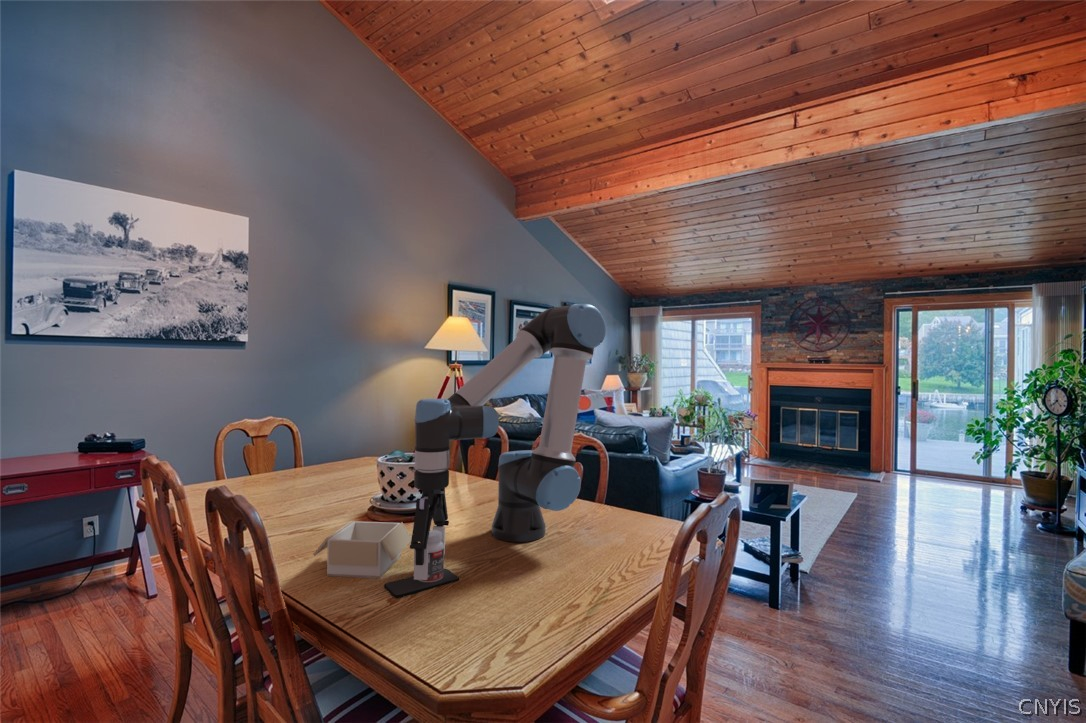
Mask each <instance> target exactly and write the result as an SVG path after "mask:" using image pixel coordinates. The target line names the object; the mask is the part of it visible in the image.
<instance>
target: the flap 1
mask: <svg viewBox="0 0 1086 723" xmlns="http://www.w3.org/2000/svg"><path fill="white" fill-rule="evenodd" d="M352 522H354V520H353V519H351V520H350V521H348V522H347V523H345V524H344V525H342V526H341V527H339V528H338V529H337V530H336V531H334V532H333V533H331V534H329V535H328V536H327V537H326V538H325V539H324V540H323V542H321V543H320V545H319V547H318V548H316V550H315V551H314V552H313V554H312V555H313V556H314V557H315V556H317V555H318V554H320V553H321V552H322V551H323V550H325V549H326V548H328V539H330V538H331V537H333V536H334V535H335V534H337V533H338V532H340V531H341V530H343V529H344V528H345V527H347V526H348V525H350V524H351V523H352Z"/></svg>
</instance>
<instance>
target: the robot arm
mask: <svg viewBox="0 0 1086 723" xmlns="http://www.w3.org/2000/svg"><path fill="white" fill-rule="evenodd" d="M606 326H607V325H606V321H605V318H604V317H603V316H602V312H601V311H600V310H599V309H598V308H597V307H596V306H594V305H592V304H590V303H574V304H569V305H563V306H554V307H550V308H547V309H545V310H544V311H542V312H540V313H539V314H538V315H536V316H534V318H532V319H531V320H530V321H529V322H528V323H526V324H525V325H523V327H522V328H521V329H520V330H519V331H518V332H517V333H516V338H515V339H514V340H513V341H511V343H509V344H508V345H507V346H506V347H505V348H504V349H503V350H501V352H499V353H498V354H497V355H496V356H494V358H493V359H492V360H490V361H489V362H488V363H486V364H485V366H484V367H482V368H481V369H480V370H479V371H478V372H477V373H475V374H474V376H472V377H470V378H469V380H467V382H465V383H464V384H463V385H462V386H461V387H460V388H459V389H458V390H456V391H455V392H454V393H453V394H451V395H450V396H449V397H448V398H447V399H446V398H423V399H419V400H418V401H417V402H416V405H415V411H414V413H415V415H414V453H413V454H412V458H414V468H415V471H414V472H413V476H414V477H413V486H414V488H415V489H417V490H421V491H422V493H421V496H420V498H416V501H415V513H414V514H415V515H414V522H413V525H412V526H413V527H412V533H411V542H410V544H409V549H410V550H411V549H412V550H413V552H414V553H413V576H414V580H427V579H428V547H427V542H428V537H429V532H430V529H431V527H432V526H431V525H432V521H433V524H434V525H433V527H432V530H438V531H441V532H442V539H441V542H442V543H443V545H444V555H445V552H446V548H445V547H446V527H447V526H449V524H450V520H448V519H449V516H448V507H447V499H446V488H448V487H449V485H450V470H449V469H448V468H449V467H450V447H451V446H450V444H451V441H453V442H454V441H461V440H475V439H480V440H483V439H487V438H493V437H494V436H495V435H496V434H497V433H498V430H499V426H500V419H499V414H498V411H497V410H496V408H494V407H493V406H490V405H488V406H486V404H487V402H488V401H489V400H491V399H492V398H493V397H494V396H495V395H496V394H497V393H498V392H499V391H501V390H502V389H503V388H504V387H505V386H506V385H508V383H509V382H510V381H511V380H512V379H514V377H515V376H516V375H517V374H519V373H520V372H521V371H522V370H523V369H524V368H525V367H526V366H527V365H529V363H530V362H532V361H533V360H534V359H540V358H541V357H542V356H544V354H545V353H547V352H549V351H550V353H551V354H552V355H553V358H554V359H553V365H552V369H551V370H552V371H551V376H550V382H549V387H548V393H547V398H546V403H545V408H544V413H543V414H544V415H543V421H542V426H541V433H540V438H539V442H538V443H539V444H538V445H537V447H536V448H534V449H530V450H529V449H527V450H526V449H525V450H513V451H505V452H503V453H501V454H500V455H499V458H498V465H497V467H498V491H497V492H498V493H497V494H498V496H497V498H498V500H497V501H498V502H497V503H498V504H497V505H498V506H497V509H496V511H495V514H494V517H493V520H492V523H491V535H492V536H493V537H494V538H495V539H498V540H500V541H504V542H511V543H525V542H526V543H527V542H532V541H536V540H539V539H542V538H543V537H544V536H545V535H546V523H545V519H544V516H543V513H542V510H541V508H542V509H543V510H550V511H553V512H560V511H563V510H566V509H567V508H569V507H570V506H571V505H572V504H574V503H575V501H576V499H577V498H578V496H579V494H580V491H581V488H582V487H581V485H582V478H581V477H580V475H579V474H580V473H579V472H578V471H577V469H575V466H576V457H575V456H574V454H573V453H572V448H573V442H574V437H575V431H576V423H577V418H578V412H579V406H580V402H581V401H580V400H581V395H582V394H581V393H582V389H583V382H584V376H585V371H586V366H587V365H586V364H587V362H589V361H590V360H591V359H593V357H594V351H595V348H596V347H599V346H600V345H601V344H602V343H603V342H604V340H605V338H606V335H607V334H606V333H607V327H606Z"/></svg>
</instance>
